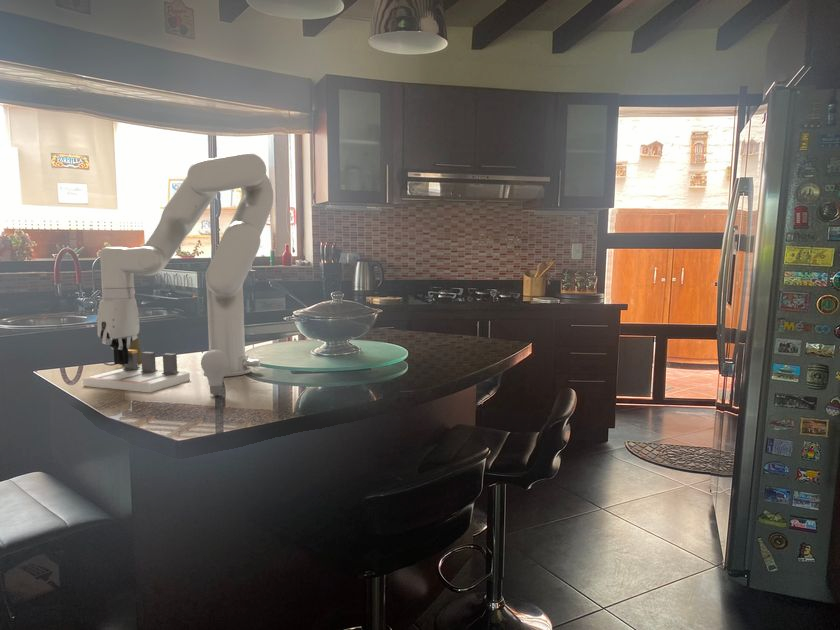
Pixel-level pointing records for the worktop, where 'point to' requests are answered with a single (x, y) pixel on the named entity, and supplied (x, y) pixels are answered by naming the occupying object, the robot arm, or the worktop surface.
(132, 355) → the breaker
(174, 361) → the breaker
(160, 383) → the breaker panel
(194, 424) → the worktop surface
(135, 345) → the cork
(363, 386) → the worktop surface
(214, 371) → the lightbulb
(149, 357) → the breaker
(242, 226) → the robot arm
